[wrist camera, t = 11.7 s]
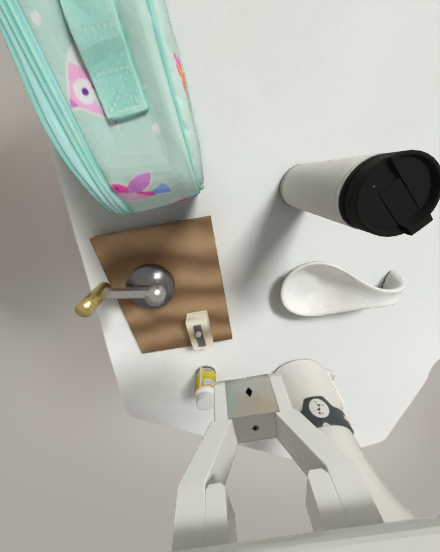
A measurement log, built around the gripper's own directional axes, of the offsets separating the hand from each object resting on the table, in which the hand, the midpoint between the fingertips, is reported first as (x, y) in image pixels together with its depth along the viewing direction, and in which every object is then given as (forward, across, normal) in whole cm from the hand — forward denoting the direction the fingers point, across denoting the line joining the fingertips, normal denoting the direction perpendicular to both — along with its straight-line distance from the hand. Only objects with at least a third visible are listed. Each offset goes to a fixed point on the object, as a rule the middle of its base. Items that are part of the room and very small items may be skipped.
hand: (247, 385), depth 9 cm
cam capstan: (+27, +16, +6) cm, 32 cm away
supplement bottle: (+29, +9, +34) cm, 46 cm away
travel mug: (+29, -14, -5) cm, 33 cm away
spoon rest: (+30, -21, +14) cm, 39 cm away
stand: (+29, +11, +10) cm, 33 cm away
